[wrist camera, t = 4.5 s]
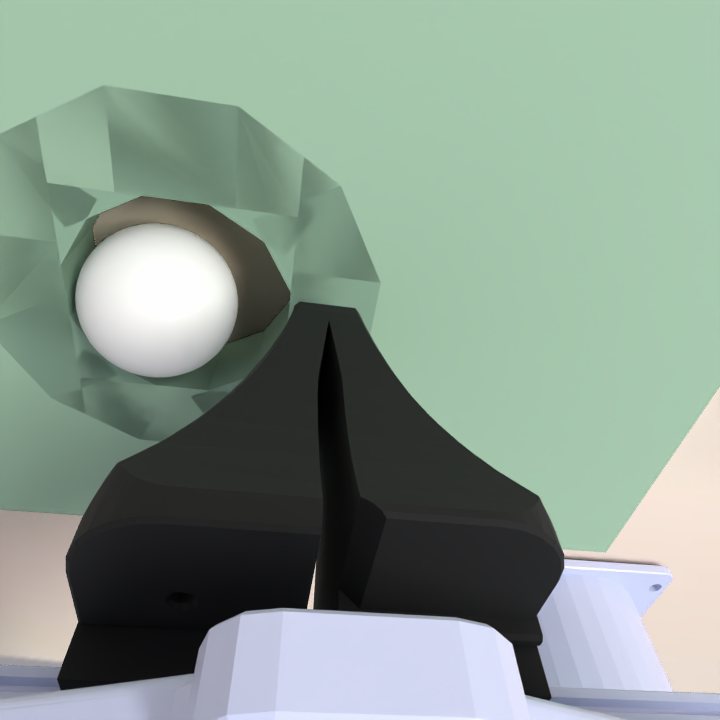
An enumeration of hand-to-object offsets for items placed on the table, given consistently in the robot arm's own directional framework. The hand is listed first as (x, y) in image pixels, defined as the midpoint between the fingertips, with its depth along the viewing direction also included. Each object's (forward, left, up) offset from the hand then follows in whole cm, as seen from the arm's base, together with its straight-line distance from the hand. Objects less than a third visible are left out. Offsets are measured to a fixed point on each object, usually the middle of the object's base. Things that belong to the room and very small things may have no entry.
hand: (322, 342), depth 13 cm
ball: (0, +4, -1) cm, 4 cm away
